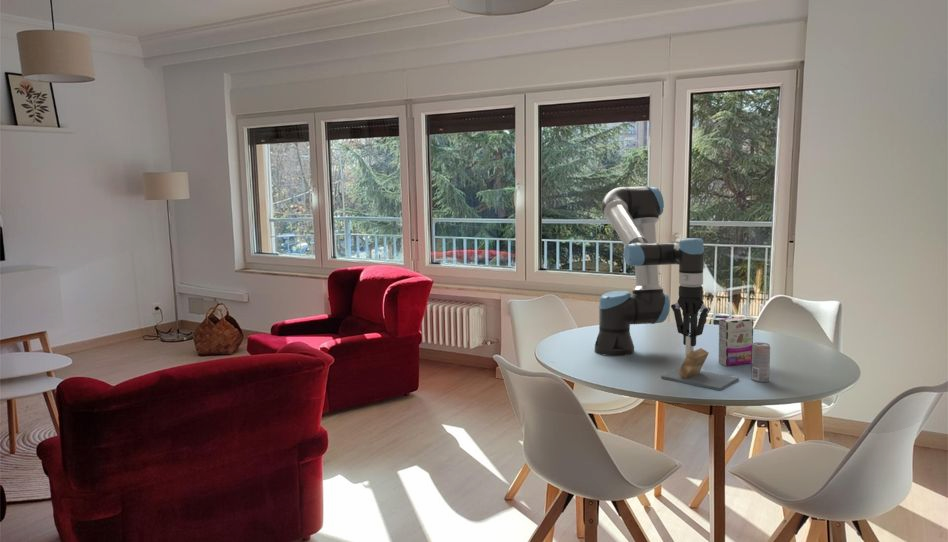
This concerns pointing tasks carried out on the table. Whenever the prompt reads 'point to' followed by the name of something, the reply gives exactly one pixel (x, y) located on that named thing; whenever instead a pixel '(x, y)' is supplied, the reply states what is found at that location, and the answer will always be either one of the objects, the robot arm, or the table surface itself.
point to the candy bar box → (735, 341)
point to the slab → (693, 363)
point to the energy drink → (760, 362)
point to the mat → (703, 379)
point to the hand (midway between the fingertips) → (689, 355)
